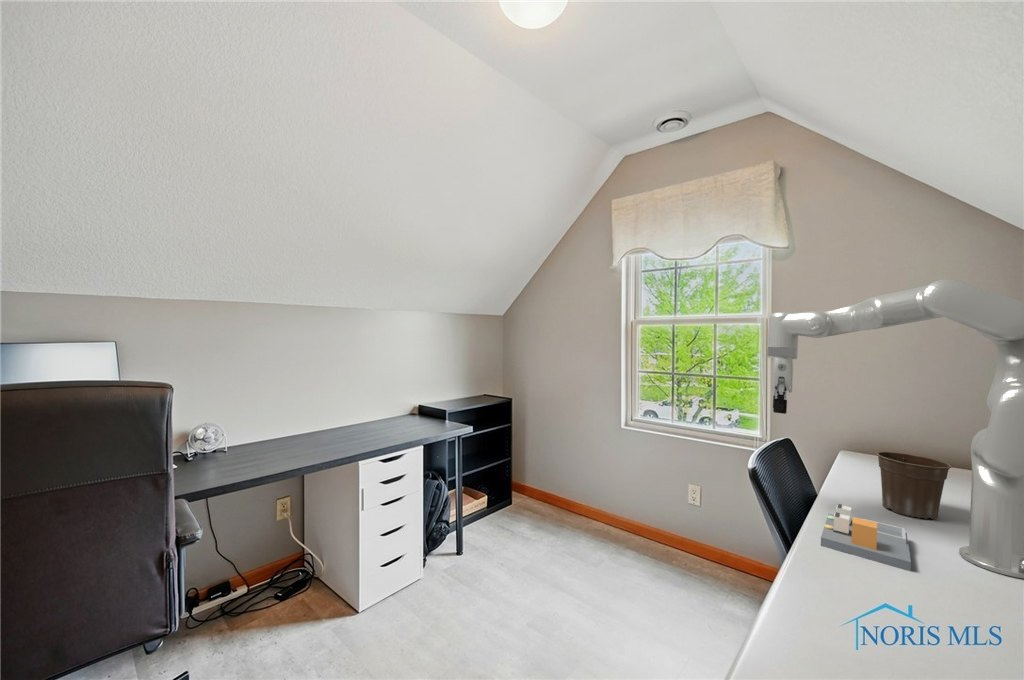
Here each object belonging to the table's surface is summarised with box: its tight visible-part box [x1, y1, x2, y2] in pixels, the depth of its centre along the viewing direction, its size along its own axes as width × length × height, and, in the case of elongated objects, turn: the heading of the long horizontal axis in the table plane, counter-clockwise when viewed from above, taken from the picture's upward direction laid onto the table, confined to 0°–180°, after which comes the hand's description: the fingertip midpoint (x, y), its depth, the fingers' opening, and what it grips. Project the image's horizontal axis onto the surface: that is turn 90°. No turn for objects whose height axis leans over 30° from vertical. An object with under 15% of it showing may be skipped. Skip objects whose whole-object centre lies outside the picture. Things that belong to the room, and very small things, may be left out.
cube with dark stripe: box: [833, 512, 850, 534], centre depth 106 cm, size 3×3×4 cm
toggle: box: [835, 503, 852, 523], centre depth 112 cm, size 3×3×4 cm
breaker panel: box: [820, 513, 912, 572], centre depth 105 cm, size 20×16×3 cm
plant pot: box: [876, 451, 952, 520], centre depth 126 cm, size 16×16×16 cm
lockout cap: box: [851, 516, 878, 550], centre depth 100 cm, size 4×4×5 cm
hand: (779, 410), depth 125 cm, fingers open, 9 cm apart
